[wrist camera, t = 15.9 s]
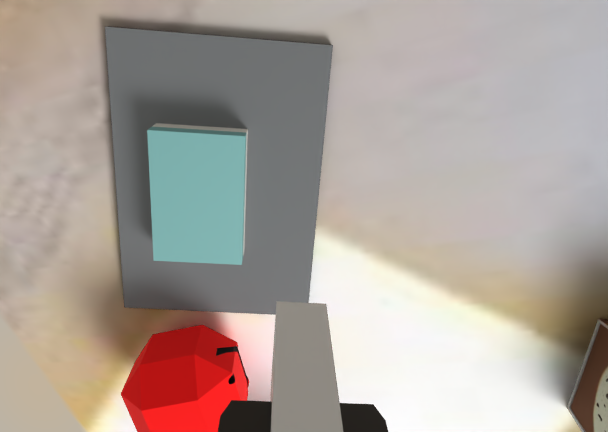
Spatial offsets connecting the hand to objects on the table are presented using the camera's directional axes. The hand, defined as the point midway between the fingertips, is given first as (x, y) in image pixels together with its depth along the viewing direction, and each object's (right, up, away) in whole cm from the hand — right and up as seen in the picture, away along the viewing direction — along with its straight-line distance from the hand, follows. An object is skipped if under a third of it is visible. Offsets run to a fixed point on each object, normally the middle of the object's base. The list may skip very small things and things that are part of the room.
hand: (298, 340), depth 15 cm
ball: (-9, -7, +25) cm, 27 cm away
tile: (-4, +5, +18) cm, 19 cm away
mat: (-6, +6, +19) cm, 21 cm away
